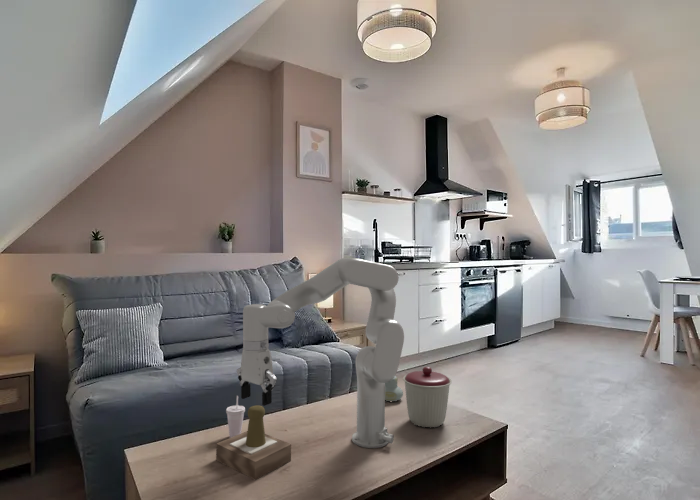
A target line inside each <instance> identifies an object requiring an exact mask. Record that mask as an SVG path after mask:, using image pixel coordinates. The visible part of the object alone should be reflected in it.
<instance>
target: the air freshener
mask: <svg viewBox="0 0 700 500" xmlns="http://www.w3.org/2000/svg"><path fill="white" fill-rule="evenodd" d="M403 396H404V391H403V389H402V388H401V387H400V386H398V377H397V376H396V375H395V376H394V378H393V379H392V380H391V381H389V382H387V383H385V400H386V401H385V402H387V401H395V402H398V401H399V400H401V399H402V398H403ZM397 400H398V401H397Z"/></svg>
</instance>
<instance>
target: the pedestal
mask: <svg viewBox="0 0 700 500" xmlns="http://www.w3.org/2000/svg"><path fill="white" fill-rule="evenodd" d="M247 431H248V430H245V431H244V432H241V434H239V435H236V436H234V437H231V438H230V437H229V438H227V439H224V440H221V441H219V442H216V445H215V446H216V448H215V450H216V451H215V461H216V462H219V463H221V464H223V465H225V466H226V467H229V468H231V469H233V470H234V471H237V472H239V473H241V474H243V475H244V476H247V477H249V478H251V479H252V480H255V481H256V480H258V479H259V478H261V477H263V476H266V475H267V474H268V473H271V472H272V471H275V470H276V469H279V468H280V467H283V466H285V465H286V464H287V463H290V462H291V461H292V443H289V442H287V441H284V440H282V439H279V438H278V437H274V436H271V435H269V434H266V433H265V440H266V443H265V444H264V445H263V446H260V447H248V446H246V438H247Z"/></svg>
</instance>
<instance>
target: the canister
mask: <svg viewBox="0 0 700 500" xmlns="http://www.w3.org/2000/svg"><path fill="white" fill-rule="evenodd" d="M402 380H403V382H404V386H405V388H404V389H405V396H406V397H405V399H406V409H407V416H408V418H409V421H410V422H411V423H412V424H413V423H414V424H413V425H415V426H417V425H418V427H420V426H422V427H421V428H425V427H430V428H429V429H432V428H431V427H434V428H438V427H440V425H441V426H442V425H443V424H444V422H445V420H446V416H447V410H448V403H449V392H450V385H451V384H452V380H451V379H450V377H448V376H447V375H445V374H443V373H441V372H437V371H433V370H432V368H431V367H430V366H424V367H423V368H422V370H417V371H411V372H409V373H407V374H405V375H404V376H403V377H402Z"/></svg>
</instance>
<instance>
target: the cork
mask: <svg viewBox="0 0 700 500" xmlns="http://www.w3.org/2000/svg"><path fill="white" fill-rule="evenodd" d="M265 414H266V410H265V408H264V406H263V405H252V406H250V407H248V410H247V417H248V418H249V419H248V425H247V430H246V431H247V438H246V446H248V447H260V446H263V445H264V444H265V443H266V440H265V434H266V433H265V432H266V431H265V423H264V416H265Z"/></svg>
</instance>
